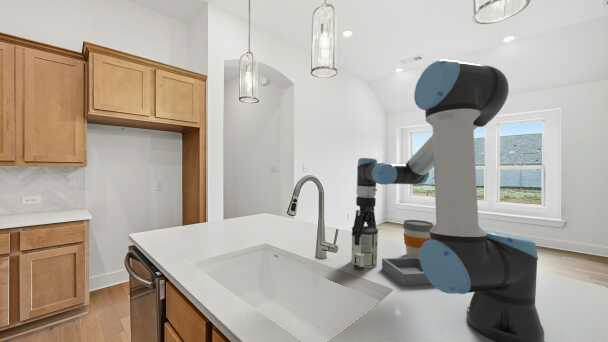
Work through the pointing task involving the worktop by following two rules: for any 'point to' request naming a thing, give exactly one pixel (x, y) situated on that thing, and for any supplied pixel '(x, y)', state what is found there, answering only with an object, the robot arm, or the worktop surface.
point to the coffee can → (368, 246)
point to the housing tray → (406, 271)
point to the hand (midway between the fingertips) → (364, 248)
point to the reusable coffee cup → (416, 236)
